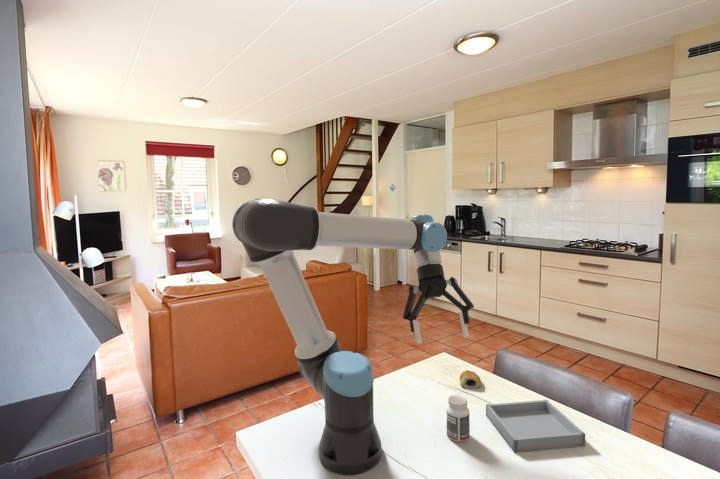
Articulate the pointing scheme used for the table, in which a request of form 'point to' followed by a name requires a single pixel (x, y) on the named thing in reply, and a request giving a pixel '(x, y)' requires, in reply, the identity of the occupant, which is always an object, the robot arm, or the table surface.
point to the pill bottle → (458, 419)
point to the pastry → (469, 379)
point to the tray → (534, 426)
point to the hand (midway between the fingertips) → (442, 340)
